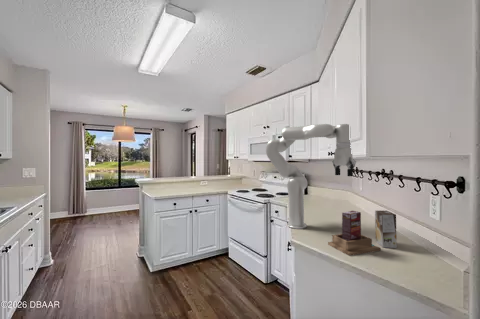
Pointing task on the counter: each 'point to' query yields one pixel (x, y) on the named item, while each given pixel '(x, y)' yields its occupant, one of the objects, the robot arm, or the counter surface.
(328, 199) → the counter surface
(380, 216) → the coffee box
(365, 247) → the brown wooden tray
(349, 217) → the supplement box
